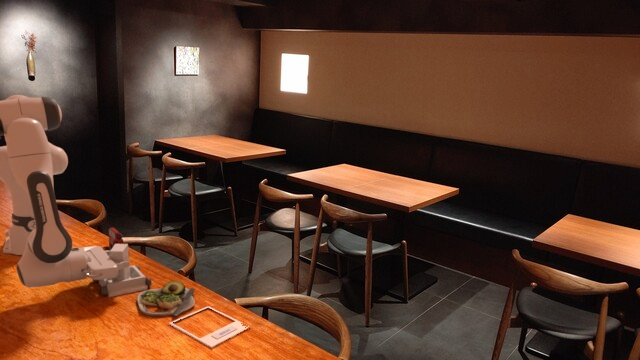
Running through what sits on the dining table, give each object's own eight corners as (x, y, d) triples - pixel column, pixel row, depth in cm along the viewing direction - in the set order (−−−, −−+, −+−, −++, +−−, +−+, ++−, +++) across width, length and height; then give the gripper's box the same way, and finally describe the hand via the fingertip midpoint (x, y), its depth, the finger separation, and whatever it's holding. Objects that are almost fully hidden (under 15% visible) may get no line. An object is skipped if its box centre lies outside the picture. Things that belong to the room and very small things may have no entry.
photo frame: (211, 346, 134) (168, 322, 144) (211, 349, 134) (168, 325, 144) (250, 326, 146) (208, 305, 156) (250, 329, 146) (208, 308, 156)
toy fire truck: (112, 265, 181) (111, 238, 178) (101, 254, 190) (100, 227, 187) (131, 262, 185) (131, 235, 183) (120, 251, 194) (119, 225, 192)
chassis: (91, 280, 168) (91, 270, 167) (136, 271, 177) (136, 262, 176) (104, 298, 157) (104, 287, 156) (151, 288, 165) (151, 278, 165)
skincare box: (117, 276, 169) (115, 243, 166) (130, 276, 169) (128, 243, 166) (111, 285, 163) (109, 251, 160) (125, 285, 164) (123, 251, 160)
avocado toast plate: (203, 317, 151) (204, 303, 149) (140, 325, 143) (140, 310, 142) (192, 289, 168) (193, 276, 167) (135, 295, 161) (135, 282, 160)
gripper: (86, 268, 148) (134, 260, 157) (70, 245, 164) (114, 239, 172) (86, 288, 150) (134, 279, 158) (71, 263, 165) (114, 256, 174)
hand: (124, 258), depth 165 cm, fingers open, 8 cm apart
